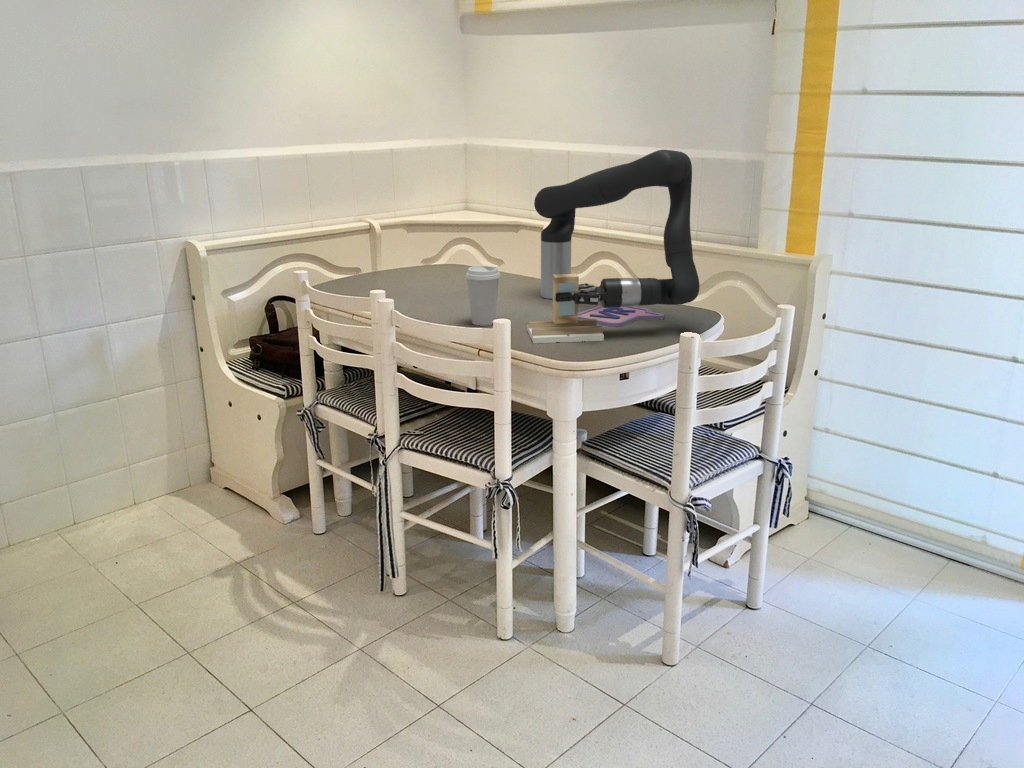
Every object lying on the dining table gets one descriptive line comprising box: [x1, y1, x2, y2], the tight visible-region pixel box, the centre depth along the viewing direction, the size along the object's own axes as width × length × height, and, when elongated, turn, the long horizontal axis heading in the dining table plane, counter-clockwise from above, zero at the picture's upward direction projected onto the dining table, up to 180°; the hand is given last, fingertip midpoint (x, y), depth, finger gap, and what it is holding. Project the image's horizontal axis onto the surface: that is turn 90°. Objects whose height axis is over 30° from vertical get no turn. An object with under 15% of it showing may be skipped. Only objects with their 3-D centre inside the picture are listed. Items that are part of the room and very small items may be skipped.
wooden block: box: [552, 273, 579, 324], centre depth 211 cm, size 6×4×12 cm, turn 97°
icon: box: [578, 304, 665, 328], centre depth 231 cm, size 19×2×20 cm
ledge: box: [526, 319, 605, 344], centre depth 214 cm, size 12×18×3 cm, turn 97°
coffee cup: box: [464, 265, 502, 327], centre depth 224 cm, size 10×10×15 cm
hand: (554, 295), depth 210 cm, fingers closed on wooden block, 3 cm apart
